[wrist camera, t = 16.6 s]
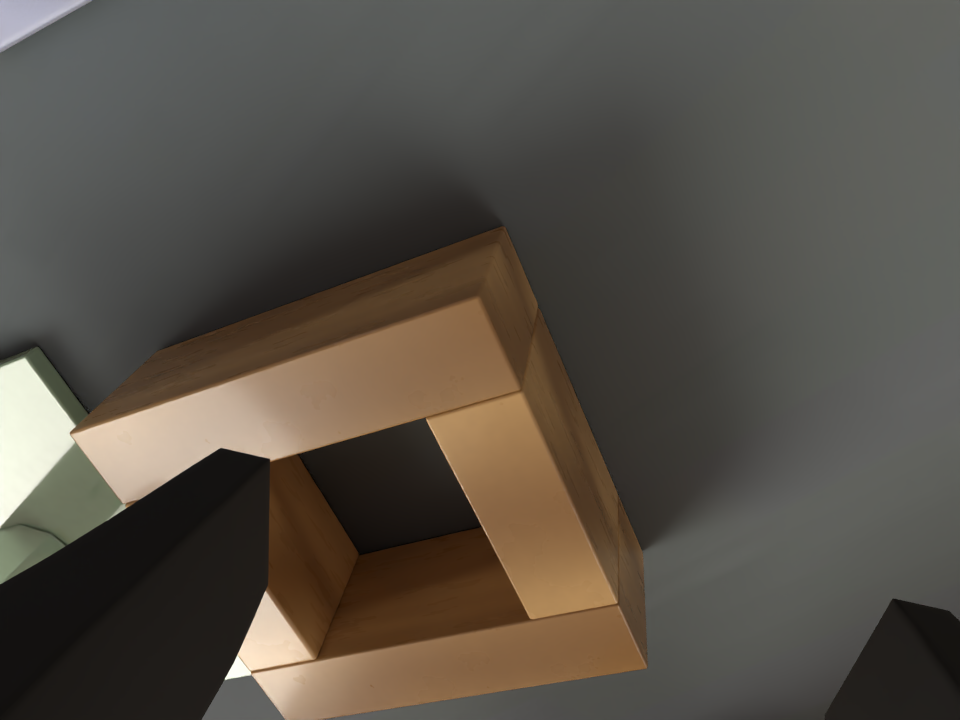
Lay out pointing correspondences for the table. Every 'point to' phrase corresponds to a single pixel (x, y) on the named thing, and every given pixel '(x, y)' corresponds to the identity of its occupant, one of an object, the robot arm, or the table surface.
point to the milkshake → (24, 549)
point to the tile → (50, 458)
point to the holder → (469, 451)
